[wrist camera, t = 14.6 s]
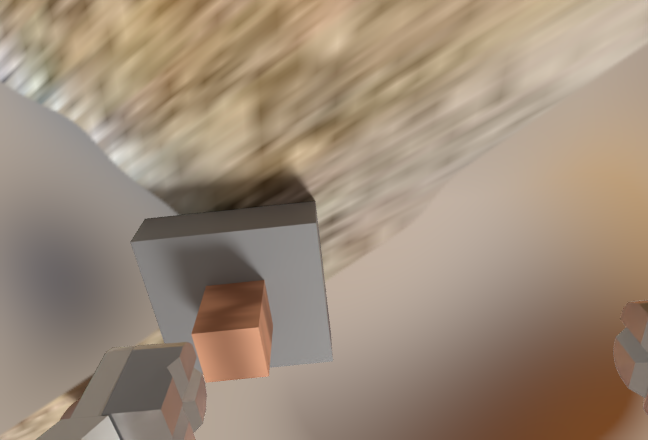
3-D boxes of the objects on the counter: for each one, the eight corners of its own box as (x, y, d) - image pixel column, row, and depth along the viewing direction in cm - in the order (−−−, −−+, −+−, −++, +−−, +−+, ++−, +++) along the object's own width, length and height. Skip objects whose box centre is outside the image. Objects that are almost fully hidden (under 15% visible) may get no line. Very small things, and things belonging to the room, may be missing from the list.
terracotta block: (264, 280, 40) (258, 327, 35) (273, 325, 43) (268, 376, 37) (206, 285, 40) (191, 334, 35) (217, 331, 43) (205, 382, 37)
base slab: (315, 201, 41) (316, 222, 38) (330, 332, 49) (332, 361, 45) (145, 218, 42) (130, 242, 38) (185, 347, 49) (176, 376, 45)
